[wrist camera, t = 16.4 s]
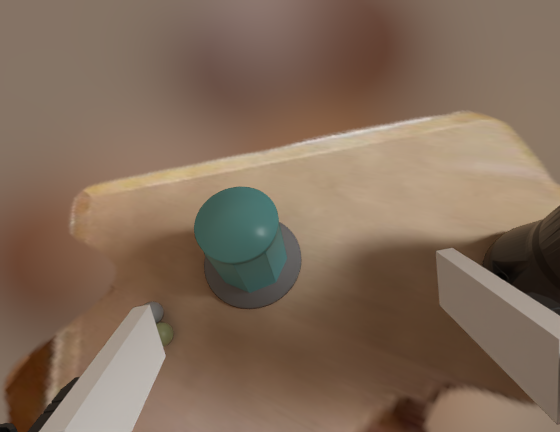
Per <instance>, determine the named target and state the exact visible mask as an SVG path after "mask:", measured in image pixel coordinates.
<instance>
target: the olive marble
mask: <svg viewBox="0 0 560 432" xmlns="http://www.w3.org/2000/svg"><path fill="white" fill-rule="evenodd" d="M156 326H157V330H158V333H159V336H160V339H161V342H162V346H163V347H164V346H166V345H168V344H169V343H170V342H171V340H172V338H173V329H172V327H171V326H170V325H169V324H167V323H163V322H161V323H157V324H156Z"/></svg>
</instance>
